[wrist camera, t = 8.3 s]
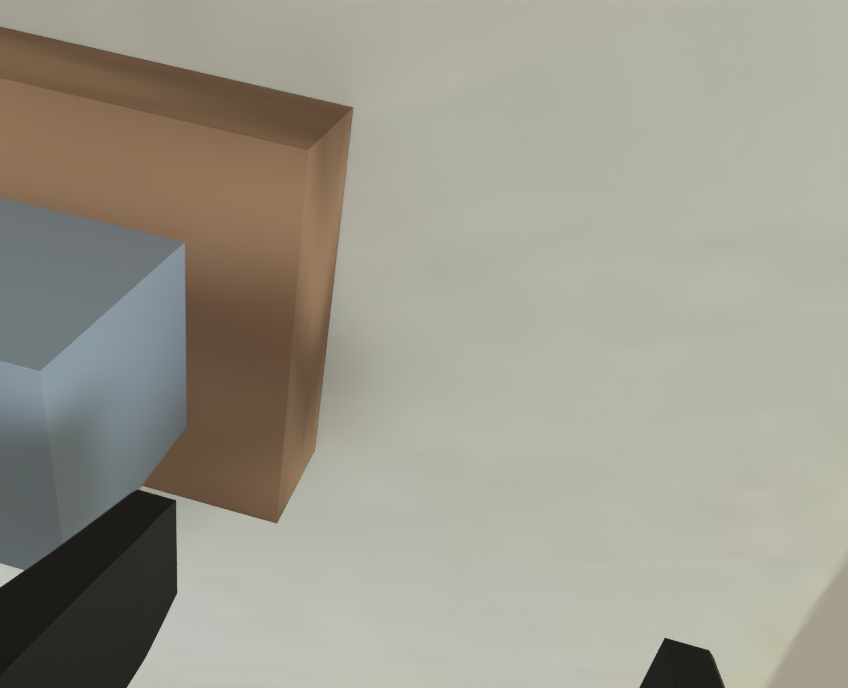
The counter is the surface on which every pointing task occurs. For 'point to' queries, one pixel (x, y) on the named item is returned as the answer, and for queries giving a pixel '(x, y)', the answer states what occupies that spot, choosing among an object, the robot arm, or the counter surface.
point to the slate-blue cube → (83, 370)
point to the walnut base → (200, 237)
